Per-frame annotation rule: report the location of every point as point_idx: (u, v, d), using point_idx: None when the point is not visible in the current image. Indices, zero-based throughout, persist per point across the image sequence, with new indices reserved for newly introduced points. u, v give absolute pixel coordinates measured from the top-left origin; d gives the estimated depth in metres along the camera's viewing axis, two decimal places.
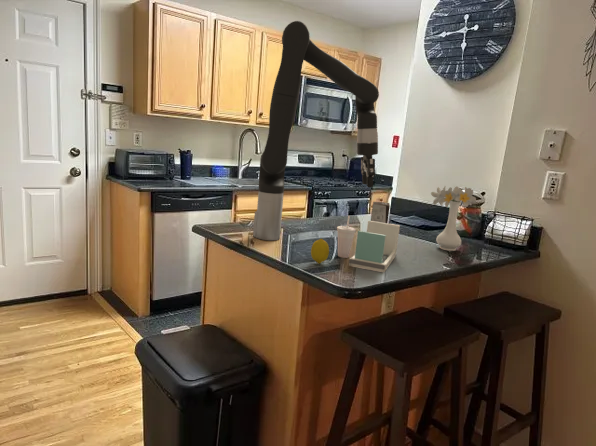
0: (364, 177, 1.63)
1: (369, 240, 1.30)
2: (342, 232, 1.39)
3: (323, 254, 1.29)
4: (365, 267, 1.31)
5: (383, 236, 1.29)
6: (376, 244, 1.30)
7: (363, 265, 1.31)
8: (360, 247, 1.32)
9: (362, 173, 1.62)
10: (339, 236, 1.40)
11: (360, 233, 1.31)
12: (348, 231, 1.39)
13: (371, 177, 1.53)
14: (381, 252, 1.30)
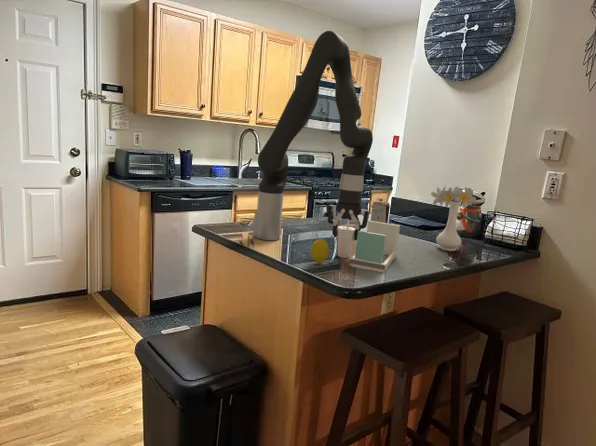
0: None
1: (369, 240, 1.30)
2: (342, 232, 1.39)
3: (323, 254, 1.29)
4: (365, 267, 1.31)
5: (383, 236, 1.29)
6: (376, 244, 1.30)
7: (363, 265, 1.31)
8: (360, 247, 1.32)
9: None
10: (339, 236, 1.40)
11: (360, 233, 1.31)
12: (348, 231, 1.39)
13: None
14: (381, 252, 1.30)
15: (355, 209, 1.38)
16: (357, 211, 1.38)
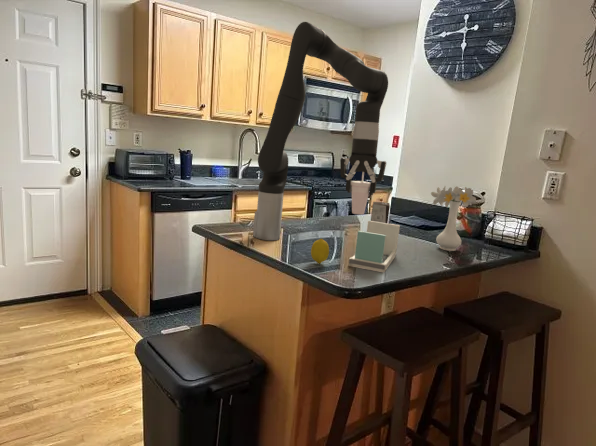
0: None
1: (369, 240, 1.30)
2: (357, 186, 1.28)
3: (323, 254, 1.29)
4: (365, 267, 1.31)
5: (383, 236, 1.29)
6: (376, 244, 1.30)
7: (363, 265, 1.31)
8: (360, 247, 1.32)
9: None
10: (354, 191, 1.29)
11: (360, 233, 1.31)
12: (364, 184, 1.28)
13: None
14: (381, 252, 1.30)
15: (370, 160, 1.27)
16: (373, 162, 1.27)
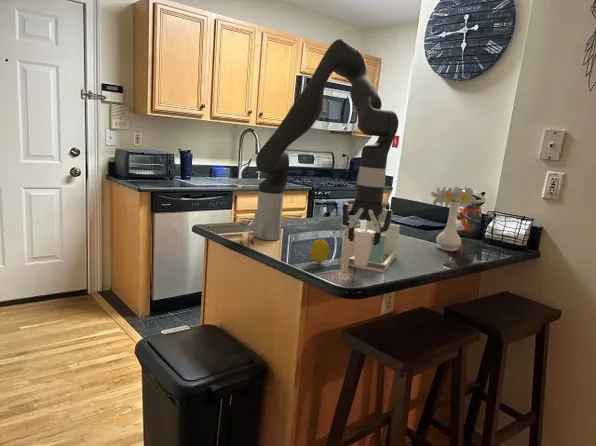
0: None
1: None
2: (360, 236, 1.18)
3: (323, 254, 1.29)
4: (365, 267, 1.31)
5: (383, 236, 1.29)
6: None
7: None
8: None
9: None
10: (356, 240, 1.19)
11: None
12: (367, 234, 1.17)
13: None
14: (381, 252, 1.30)
15: (375, 208, 1.17)
16: (378, 211, 1.17)
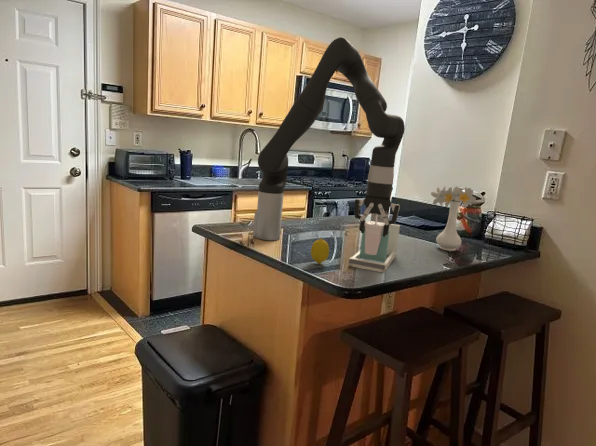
0: None
1: None
2: (370, 228, 1.31)
3: (323, 254, 1.29)
4: (365, 267, 1.31)
5: None
6: (380, 240, 1.36)
7: (363, 265, 1.31)
8: (364, 243, 1.38)
9: None
10: (367, 232, 1.32)
11: None
12: (377, 226, 1.30)
13: None
14: (385, 247, 1.36)
15: (384, 203, 1.30)
16: (387, 205, 1.30)
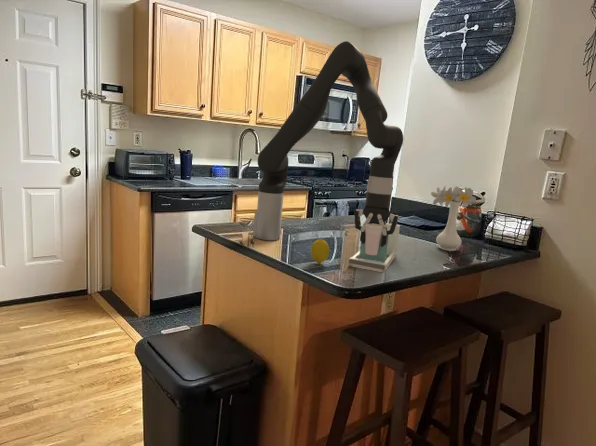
0: None
1: None
2: (371, 228, 1.31)
3: (323, 254, 1.29)
4: (365, 267, 1.31)
5: None
6: None
7: (363, 265, 1.31)
8: (364, 243, 1.38)
9: None
10: (367, 232, 1.32)
11: None
12: (377, 227, 1.30)
13: None
14: (385, 248, 1.36)
15: (384, 213, 1.31)
16: (386, 215, 1.30)
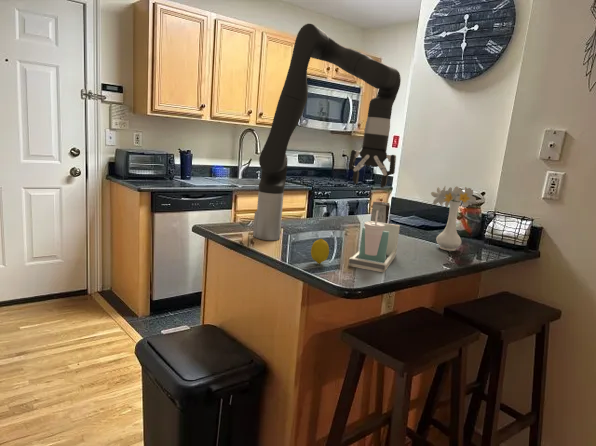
0: None
1: None
2: (370, 228, 1.30)
3: (323, 254, 1.29)
4: (365, 267, 1.31)
5: (386, 232, 1.34)
6: None
7: (363, 265, 1.31)
8: (364, 243, 1.37)
9: None
10: (367, 232, 1.32)
11: (364, 230, 1.37)
12: (377, 227, 1.30)
13: None
14: (385, 248, 1.35)
15: (380, 155, 1.31)
16: (382, 157, 1.31)
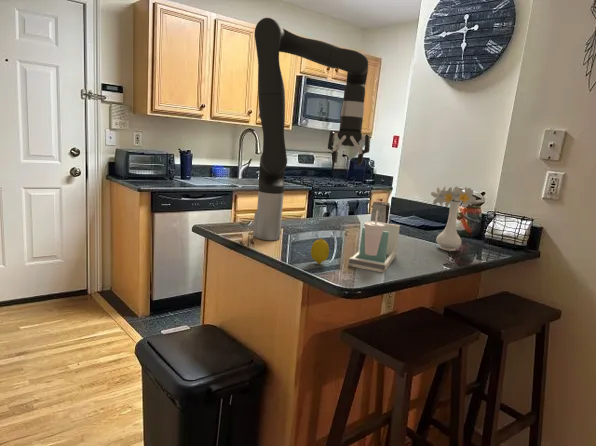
0: None
1: None
2: (370, 228, 1.30)
3: (323, 254, 1.29)
4: (365, 267, 1.31)
5: (386, 232, 1.34)
6: (380, 240, 1.35)
7: (363, 265, 1.31)
8: (364, 243, 1.37)
9: None
10: (367, 232, 1.31)
11: (364, 230, 1.37)
12: (377, 227, 1.30)
13: None
14: (385, 248, 1.35)
15: (356, 136, 1.45)
16: (358, 137, 1.45)
